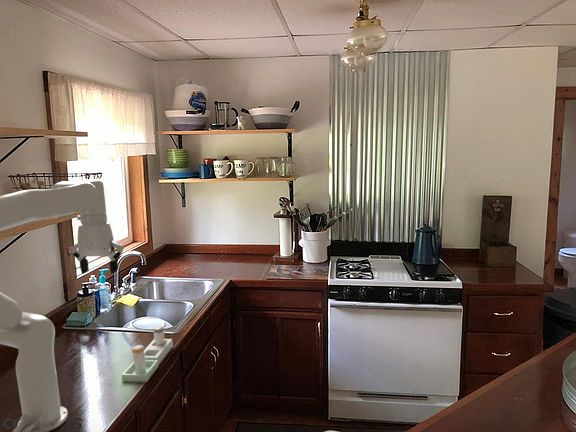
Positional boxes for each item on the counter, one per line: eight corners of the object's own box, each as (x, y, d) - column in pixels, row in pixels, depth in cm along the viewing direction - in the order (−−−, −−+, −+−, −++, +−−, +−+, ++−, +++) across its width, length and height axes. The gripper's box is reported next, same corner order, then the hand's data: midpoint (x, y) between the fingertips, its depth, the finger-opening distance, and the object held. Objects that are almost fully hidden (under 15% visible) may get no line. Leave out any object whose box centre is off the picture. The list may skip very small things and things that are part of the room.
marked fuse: (144, 375, 153) (140, 349, 152) (133, 375, 154) (130, 350, 152) (148, 369, 157) (145, 344, 156) (137, 369, 157) (134, 345, 156)
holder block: (157, 365, 161) (157, 357, 160) (138, 365, 162) (137, 357, 161) (172, 346, 176) (172, 339, 175) (155, 346, 176) (154, 338, 176)
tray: (146, 382, 150) (145, 375, 150) (122, 381, 151) (121, 374, 150) (158, 366, 160) (157, 360, 160) (135, 366, 161) (135, 359, 160)
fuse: (163, 352, 171) (161, 329, 169) (153, 352, 171) (151, 329, 169) (167, 348, 174) (165, 325, 173) (157, 348, 175) (155, 325, 173)
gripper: (60, 222, 142) (67, 276, 145) (114, 221, 140) (120, 275, 143) (74, 217, 149) (80, 269, 152) (125, 216, 147) (130, 268, 150)
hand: (99, 272), depth 147 cm, fingers open, 9 cm apart
